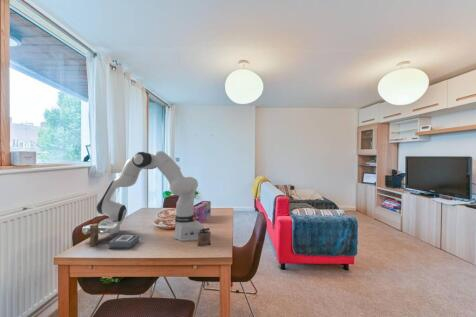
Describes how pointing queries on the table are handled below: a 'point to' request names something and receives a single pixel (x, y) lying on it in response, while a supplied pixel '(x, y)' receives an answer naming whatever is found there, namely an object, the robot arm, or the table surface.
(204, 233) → the lighter
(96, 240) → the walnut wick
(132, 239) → the grey flat square block
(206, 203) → the gum box
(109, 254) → the table surface
